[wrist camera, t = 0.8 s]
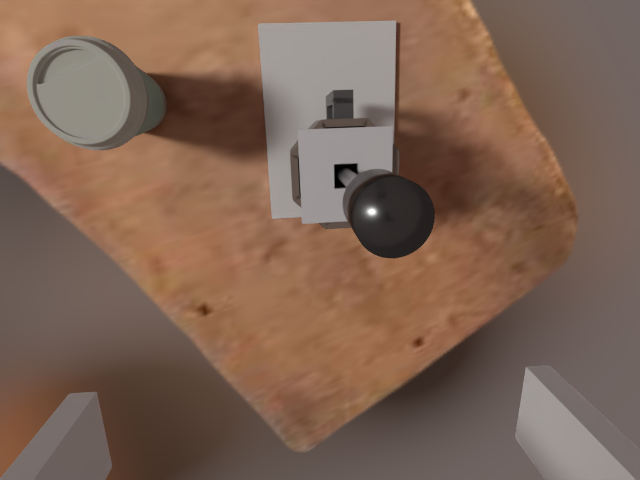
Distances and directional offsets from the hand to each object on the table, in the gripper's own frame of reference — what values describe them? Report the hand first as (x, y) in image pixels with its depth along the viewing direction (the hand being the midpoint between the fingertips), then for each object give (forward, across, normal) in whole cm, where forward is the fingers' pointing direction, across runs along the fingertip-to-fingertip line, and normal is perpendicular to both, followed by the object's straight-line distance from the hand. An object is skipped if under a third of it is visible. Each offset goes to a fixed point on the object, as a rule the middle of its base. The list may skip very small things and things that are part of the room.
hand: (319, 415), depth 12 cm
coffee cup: (+35, -16, +11) cm, 40 cm away
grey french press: (+34, +4, +5) cm, 35 cm away
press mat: (+34, +4, +8) cm, 36 cm away
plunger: (+23, +4, +4) cm, 24 cm away
